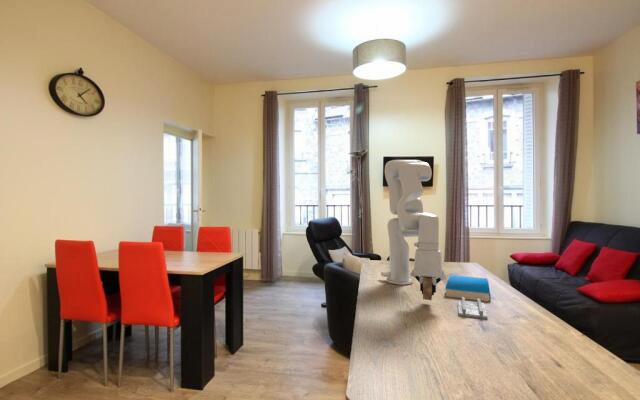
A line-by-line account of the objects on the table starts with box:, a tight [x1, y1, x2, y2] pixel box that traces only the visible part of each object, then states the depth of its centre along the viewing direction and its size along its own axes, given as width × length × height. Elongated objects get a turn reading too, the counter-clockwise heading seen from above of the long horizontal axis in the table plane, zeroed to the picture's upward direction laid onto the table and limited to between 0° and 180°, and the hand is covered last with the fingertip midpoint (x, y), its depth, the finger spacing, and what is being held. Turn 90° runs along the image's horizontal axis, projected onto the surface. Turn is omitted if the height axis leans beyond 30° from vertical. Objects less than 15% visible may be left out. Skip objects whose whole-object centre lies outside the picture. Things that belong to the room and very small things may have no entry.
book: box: [445, 274, 492, 302], centre depth 142 cm, size 17×4×25 cm
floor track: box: [457, 297, 488, 320], centre depth 117 cm, size 15×9×2 cm, turn 157°
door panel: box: [422, 277, 433, 301], centre depth 123 cm, size 3×8×8 cm, turn 157°
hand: (427, 293), depth 123 cm, fingers closed on door panel, 3 cm apart
